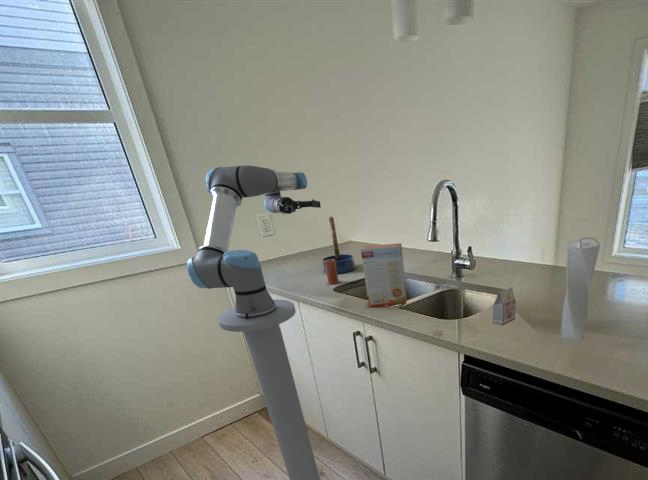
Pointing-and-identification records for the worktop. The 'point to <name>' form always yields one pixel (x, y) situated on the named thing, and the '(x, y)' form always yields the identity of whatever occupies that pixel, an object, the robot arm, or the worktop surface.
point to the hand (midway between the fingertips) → (307, 206)
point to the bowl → (342, 263)
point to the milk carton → (504, 307)
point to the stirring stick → (334, 238)
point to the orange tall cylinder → (331, 271)
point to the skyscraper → (578, 288)
